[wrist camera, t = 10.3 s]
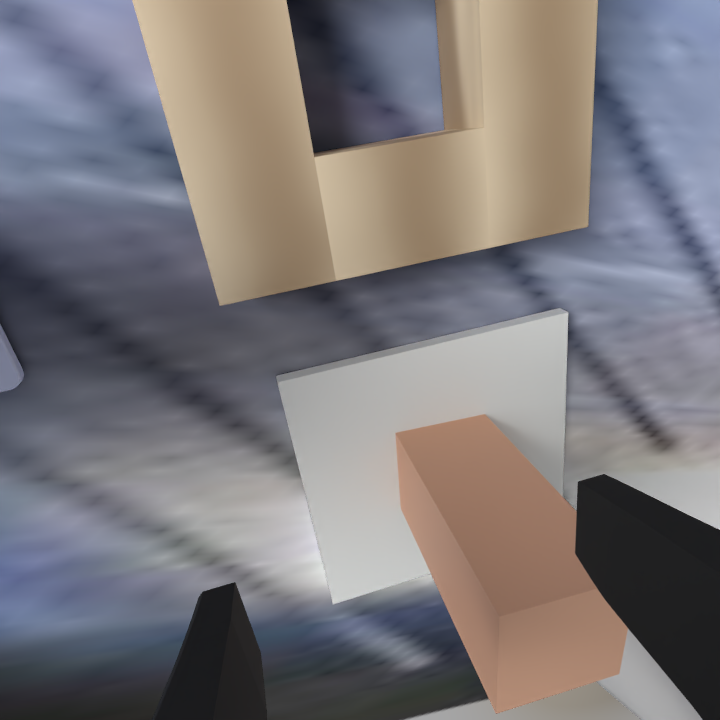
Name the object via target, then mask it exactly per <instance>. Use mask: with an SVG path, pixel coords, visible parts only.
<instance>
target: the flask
mask: <svg viewBox="0 0 720 720" xmlns="http://www.w3.org/2000/svg"><path fill="white" fill-rule="evenodd" d="M596 682H597V683H598V684H599V685H600V686H602V687H603V688H604V689H605V690H606V691H607V692H609V693H610V694H611V695H612V696H613V697H615V698H616V699H617V700H618V701H619V702H621V703H622V704H623V705H624V706H625V707H626V708H628V709H629V710H630V711H631V712H632V713H634V714H635V715H636V716H637V717H638V718H639V719H641V720H703V719H702V718H701V717H700V716H699V714H698V713H697V712H696V710H695V709H694V708H693V706H692V705H691V704H690V703H689V702H688V700H687V699H686V698H685V697H684V695H683V694H682V693H681V692H680V691H679V689H678V688H677V687H676V686H675V685H674V683H673V682H672V681H671V680H670V679H669V677H668V676H667V675H666V674H665V672H664V671H663V670H662V669H661V668H660V666H659V665H658V664H657V663H656V662H655V660H654V659H653V658H652V657H651V656H650V654H649V653H648V652H647V651H646V650H645V648H644V647H643V646H642V645H641V643H640V642H639V641H638V640H637V639H636V637H635V636H634V635H633V634H632V633H631V631H630V630H629V629H628V631H627V637H626V642H625V647H624V652H623V657H622V662H621V668H620V673H619V674H618V675H615V676H612V677H609V678H606V679H602V680H599V681H596Z"/></svg>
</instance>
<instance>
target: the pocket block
mask: <svg viewBox="0 0 720 720" xmlns="http://www.w3.org/2000/svg"><path fill="white" fill-rule="evenodd" d="M132 1H133V4H134V8H135V11H136V15H137V18H138V22H139V25H140V29H141V32H142V36H143V39H144V43H145V46H146V50H147V53H148V57H149V60H150V64H151V67H152V71H153V74H154V78H155V81H156V85H157V88H158V92H159V95H160V99H161V102H162V105H163V109H164V112H165V116H166V119H167V123H168V126H169V130H170V133H171V137H172V140H173V144H174V147H175V151H176V154H177V158H178V161H179V165H180V168H181V172H182V175H183V179H184V182H185V186H186V189H187V193H188V196H189V200H190V203H191V207H192V210H193V214H194V217H195V221H196V224H197V228H198V231H199V235H200V238H201V242H202V245H203V249H204V252H205V256H206V259H207V263H208V266H209V270H210V273H211V277H212V280H213V284H214V287H215V291H216V294H217V298H218V301H219V305H220V306H222V305H226V304H231V303H236V302H240V301H245V300H250V299H254V298H259V297H263V296H268V295H273V294H277V293H282V292H287V291H291V290H296V289H301V288H305V287H310V286H315V285H319V284H324V283H329V282H333V281H338V280H343V279H347V278H352V277H357V276H361V275H366V274H371V273H375V272H380V271H385V270H389V269H394V268H399V267H403V266H408V265H412V264H417V263H422V262H426V261H431V260H436V259H440V258H445V257H450V256H454V255H459V254H464V253H468V252H473V251H478V250H482V249H487V248H492V247H496V246H501V245H506V244H510V243H515V242H520V241H524V240H529V239H534V238H538V237H543V236H548V235H552V234H557V233H562V232H566V231H571V230H575V229H580V228H585V227H588V218H589V195H590V172H591V149H592V125H593V102H594V79H595V56H596V32H597V9H598V0H435V6H436V19H437V33H438V47H439V61H440V75H441V89H442V103H443V117H444V130H442V131H437V132H431V133H425V134H419V135H414V136H408V137H402V138H396V139H391V140H385V141H379V142H374V143H368V144H362V145H356V146H351V147H345V148H339V149H334V150H328V151H322V152H316V153H313V147H312V142H311V136H310V131H309V125H308V119H307V114H306V108H305V102H304V97H303V91H302V85H301V80H300V74H299V68H298V63H297V57H296V52H295V46H294V40H293V35H292V29H291V23H290V18H289V12H288V6H287V1H286V0H132Z"/></svg>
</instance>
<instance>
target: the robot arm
mask: <svg viewBox="0 0 720 720" xmlns="http://www.w3.org/2000/svg"><path fill="white" fill-rule="evenodd" d="M23 377H24V372H23V369H22V367H21V365H20V363H19V361H18V359H17V357H16V355H15V353H14V351H13V349H12V347H11V345H10V343H9V341H8V339H7V337H6V334H5V332H4V330H3V328H2V326H1V324H0V392H4V391H9V390H12V389H14V388H16V387H17V386H18V385H19V384H20V383H21V381H22V380H23ZM575 554H576V556H577V558H578V559H579V561H580V562H581V564H582V566H583V567H584V569H585V570H586V572H587V573H588V575H589V577H590V578H591V580H592V581H593V583H594V584H595V586H596V587H597V589H598V590H599V592H600V593H601V595H602V596H603V598H604V599H605V600H606V602H607V603H608V604H609V605H610V607H611V608H612V609H613V610H614V612H615V613H616V614H617V615H618V617H619V618H620V619H621V620H622V621H623V623H624V624H625V625H626V626H627V628H628V629H629V630H630V631H631V633H632V634H633V635H634V636H635V637H636V639H637V640H638V641H639V642H640V643H641V645H642V646H643V647H644V648H645V650H646V651H647V652H648V653H649V654H650V656H651V657H652V658H653V659H654V660H655V662H656V663H657V664H658V665H659V666H660V668H661V669H662V670H663V671H664V672H665V674H666V675H667V676H668V677H669V679H670V680H671V681H672V682H673V683H674V685H675V686H676V687H677V688H678V689H679V691H680V692H681V693H682V694H683V695H684V697H685V698H686V699H687V700H688V702H689V703H690V704H691V705H692V706H693V708H694V709H695V710H696V712H697V713H698V714H699V716H700V717H701V718H702V719H703V720H720V530H719V529H716V528H714V527H712V526H710V525H708V524H706V523H704V522H702V521H700V520H698V519H696V518H693V517H691V516H689V515H687V514H685V513H683V512H681V511H679V510H677V509H675V508H673V507H671V506H669V505H667V504H665V503H663V502H661V501H659V500H657V499H655V498H653V497H651V496H649V495H647V494H645V493H643V492H641V491H639V490H637V489H634V488H632V487H630V486H628V485H626V484H624V483H622V482H620V481H618V480H616V479H614V478H611V477H609V476H607V475H605V474H603V475H599V476H596V477H593V478H589V479H586V480H582V481H579V482H578V493H577V517H576V541H575ZM152 720H267V710H266V699H265V689H264V679H263V669H262V660H261V652H260V649H259V646H258V644H257V641H256V638H255V635H254V633H253V630H252V627H251V624H250V622H249V619H248V616H247V613H246V610H245V608H244V605H243V602H242V599H241V597H240V594H239V591H238V588H237V586H236V583H235V582H234V583H231V584H227V585H224V586H220V587H217V588H214V589H210V590H207V591H203V592H202V594H201V595H200V597H199V598H198V601H197V604H196V607H195V610H194V613H193V616H192V619H191V622H190V625H189V628H188V630H187V633H186V636H185V639H184V641H183V644H182V647H181V649H180V652H179V655H178V657H177V660H176V662H175V665H174V668H173V670H172V673H171V675H170V677H169V680H168V682H167V685H166V687H165V690H164V692H163V694H162V697H161V699H160V702H159V704H158V706H157V709H156V711H155V714H154V716H153V718H152Z"/></svg>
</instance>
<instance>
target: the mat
mask: <svg viewBox="0 0 720 720" xmlns="http://www.w3.org/2000/svg"><path fill="white" fill-rule="evenodd" d="M567 340H568V312H567V311H565V310H563V309H561V308H558V309H553V310H549V311H545V312H541V313H537V314H533V315H528V316H524V317H520V318H516V319H512V320H508V321H503V322H499V323H495V324H491V325H487V326H482V327H478V328H474V329H470V330H466V331H462V332H457V333H453V334H449V335H445V336H441V337H436V338H432V339H428V340H424V341H420V342H416V343H411V344H407V345H403V346H399V347H395V348H390V349H386V350H382V351H378V352H374V353H370V354H365V355H361V356H357V357H353V358H349V359H344V360H340V361H336V362H332V363H328V364H324V365H319V366H315V367H311V368H307V369H303V370H298V371H294V372H290V373H286V374H282V375H278V376H276V379H277V384H278V388H279V392H280V396H281V400H282V404H283V408H284V411H285V415H286V419H287V423H288V427H289V431H290V435H291V439H292V443H293V447H294V451H295V455H296V459H297V463H298V467H299V471H300V475H301V479H302V483H303V487H304V491H305V495H306V499H307V503H308V507H309V511H310V515H311V519H312V523H313V527H314V531H315V535H316V538H317V542H318V546H319V550H320V554H321V558H322V562H323V566H324V570H325V574H326V578H327V582H328V586H329V590H330V594H331V598H332V602H333V604H336V603H339V602H342V601H345V600H349V599H352V598H355V597H358V596H361V595H365V594H368V593H371V592H374V591H377V590H381V589H384V588H387V587H390V586H393V585H397V584H400V583H403V582H406V581H409V580H413V579H416V578H419V577H422V576H425V575H429V574H431V573H430V570H429V568H428V566H427V564H426V562H425V560H424V558H423V555H422V553H421V551H420V549H419V547H418V545H417V542H416V540H415V538H414V536H413V534H412V532H411V530H410V527H409V525H408V523H407V521H406V519H405V517H404V514H403V512H402V510H401V505H400V491H399V477H398V463H397V449H396V435H395V433H397V432H402V431H406V430H411V429H416V428H421V427H426V426H430V425H435V424H440V423H445V422H449V421H454V420H459V419H464V418H469V417H473V416H478V415H483V414H485V415H486V416H487V417H488V418H489V419H490V420H491V421H492V422H493V423H494V424H495V425H496V426H497V427H498V428H499V430H500V431H501V432H502V433H503V434H504V435H505V436H506V437H507V438H508V439H509V440H510V441H511V442H512V443H513V444H514V446H515V447H516V448H517V449H518V450H519V451H520V452H521V453H522V454H523V455H524V456H525V457H526V458H527V459H528V460H529V461H530V463H531V464H532V465H533V466H534V467H535V468H536V469H537V470H538V471H539V472H540V473H541V474H542V475H543V476H544V477H545V479H546V480H547V481H548V482H549V483H550V484H551V485H552V486H553V487H554V488H555V489H556V490H557V491H558V492H559V493H560V495H561V496H562V497H563V481H564V445H565V410H566V375H567Z"/></svg>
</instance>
